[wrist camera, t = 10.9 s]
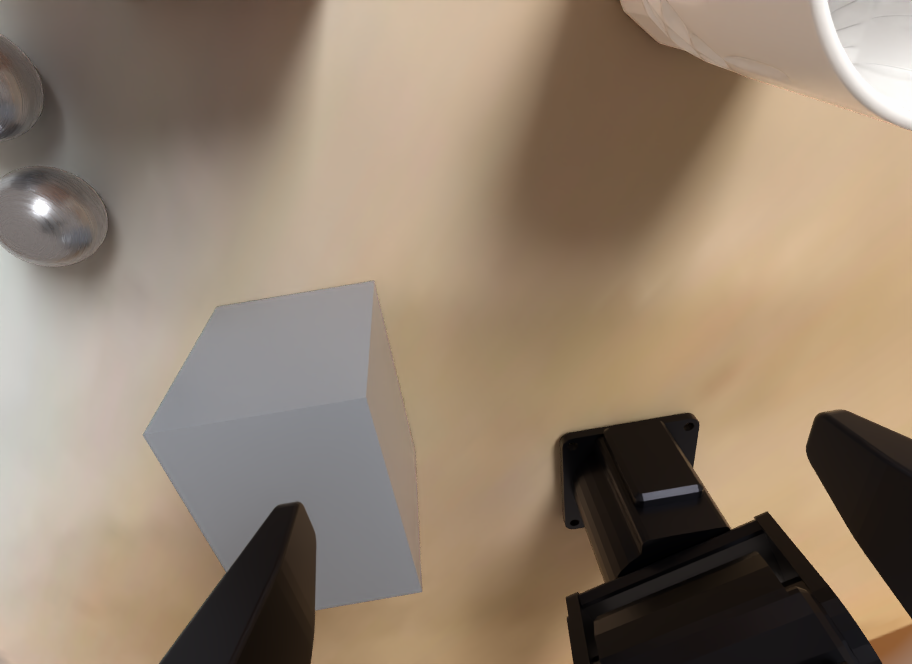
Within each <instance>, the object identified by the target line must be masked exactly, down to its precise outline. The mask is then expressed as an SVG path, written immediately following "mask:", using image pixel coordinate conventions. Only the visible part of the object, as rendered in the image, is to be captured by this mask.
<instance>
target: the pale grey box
mask: <svg viewBox="0 0 912 664" xmlns="http://www.w3.org/2000/svg"><path fill="white" fill-rule="evenodd" d="M143 436H144V438H145V439H146V441H147V443H148V444H149V446H150V448H151V449H152V451H153V453H154V454H155V456H156V458H157V459H158V461H159V462H160V464H161V466H162V467H163V469H164V471H165V472H166V474H167V476H168V477H169V479H170V481H171V482H172V484H173V486H174V487H175V489H176V490H177V492H178V494H179V495H180V497H181V499H182V500H183V502H184V504H185V505H186V507H187V509H188V510H189V512H190V514H191V515H192V517H193V518H194V520H195V522H196V523H197V525H198V527H199V528H200V530H201V532H202V533H203V535H204V537H205V538H206V540H207V542H208V543H209V545H210V546H211V548H212V550H213V551H214V553H215V555H216V556H217V558H218V560H219V561H220V563H221V565H222V566H223V568H224V570H225V571H226V572H227V571H228V570H229V568H230V567H231V565H232V564H233V563H234V561H235V560H236V559H237V557H238V556H239V555H240V553H241V552H242V551H243V549H244V548H245V547H246V545H247V544H248V543H249V541H250V540H251V538H252V537H253V536H254V534H255V533H256V532H257V530H258V529H259V528H260V526H261V525H262V524H263V522H264V521H265V520H266V518H267V517H268V515H269V514H270V513H271V511H272V510H273V509H274V508H275V507H276V506H277V505H279V504H284V503H290V502H295V501H299V502H301V503H302V504H303V505H304V507H305V509H306V512H307V514H308V516H309V519H310V521H311V523H312V526H313V528H314V531H315V534H316V543H317V548H316V591H315V610H320V609H326V608H332V607H338V606H344V605H349V604H355V603H361V602H367V601H373V600H379V599H384V598H390V597H396V596H402V595H408V594H413V593H419V592H422V573H421V552H420V531H419V510H418V488H417V467H416V451H415V446H414V442H413V438H412V434H411V430H410V426H409V422H408V418H407V413H406V409H405V405H404V401H403V397H402V393H401V389H400V385H399V380H398V376H397V372H396V368H395V364H394V360H393V356H392V351H391V347H390V343H389V339H388V335H387V331H386V327H385V323H384V318H383V314H382V310H381V306H380V302H379V298H378V294H377V290H376V285H375V281H369V282H363V283H357V284H351V285H345V286H339V287H333V288H327V289H321V290H315V291H309V292H303V293H297V294H291V295H285V296H279V297H273V298H266V299H260V300H254V301H248V302H242V303H236V304H230V305H224V306H218V307H216V308H215V310H214V312H213V314H212V315H211V317H210V319H209V321H208V322H207V324H206V326H205V328H204V329H203V331H202V333H201V335H200V336H199V338H198V340H197V341H196V343H195V345H194V347H193V348H192V350H191V352H190V354H189V355H188V357H187V359H186V361H185V362H184V364H183V366H182V368H181V369H180V371H179V373H178V375H177V376H176V378H175V380H174V382H173V383H172V385H171V387H170V388H169V390H168V392H167V394H166V395H165V397H164V399H163V401H162V402H161V404H160V406H159V408H158V409H157V411H156V413H155V415H154V416H153V418H152V420H151V422H150V423H149V425H148V427H147V428H146V430H145V432H144V434H143Z"/></svg>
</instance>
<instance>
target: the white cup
mask: <svg viewBox="0 0 912 664" xmlns="http://www.w3.org/2000/svg"><path fill="white" fill-rule="evenodd" d="M620 3H621V6H622V8H623V11H624V12H625V13H626V14H627V15H628V16H629V17H630V18H632V19H633V20H634V21H635V22H636V23H637V24H638V25H639V26H640V27H641V28H642V29H643V30H645V31H646V32H647V33H648V34H649V35H650V36H651V37H652V38H653V39H654V40H655V41H657V42H658V43H660V44H663V45H666V46H670V47H674V48H677V49H681V50H684V51H687V52H689V53H690V54H692V55H694V56H696V57H698V58H699V59H701V60H703V61H705V62H707V63H710V64H713V65H715V66H718V67H721V68H724V69H727V70H730V71H733V72H735V73H737V74H739V75H742V76H744V77H747V78H750V79H753V80H756V81H759V82H762V83H765V84H769V85H772V86H775V87H778V88H781V89H784V90H787V91H791V92H794V93H797V94H800V95H803V96H806V97H810V98H813V99H816V100H819V101H822V102H825V103H828V104H831V105H834V106H837V107H841V108H844V109H847V110H850V111H853V112H856V113H859V114H862V115H865V116H868V117H871V118H874V119H877V120H880V121H883V122H886V123H889V124H892V125H895V126H898V127H901V128H904V129H907V130H911V131H912V0H620Z"/></svg>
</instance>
